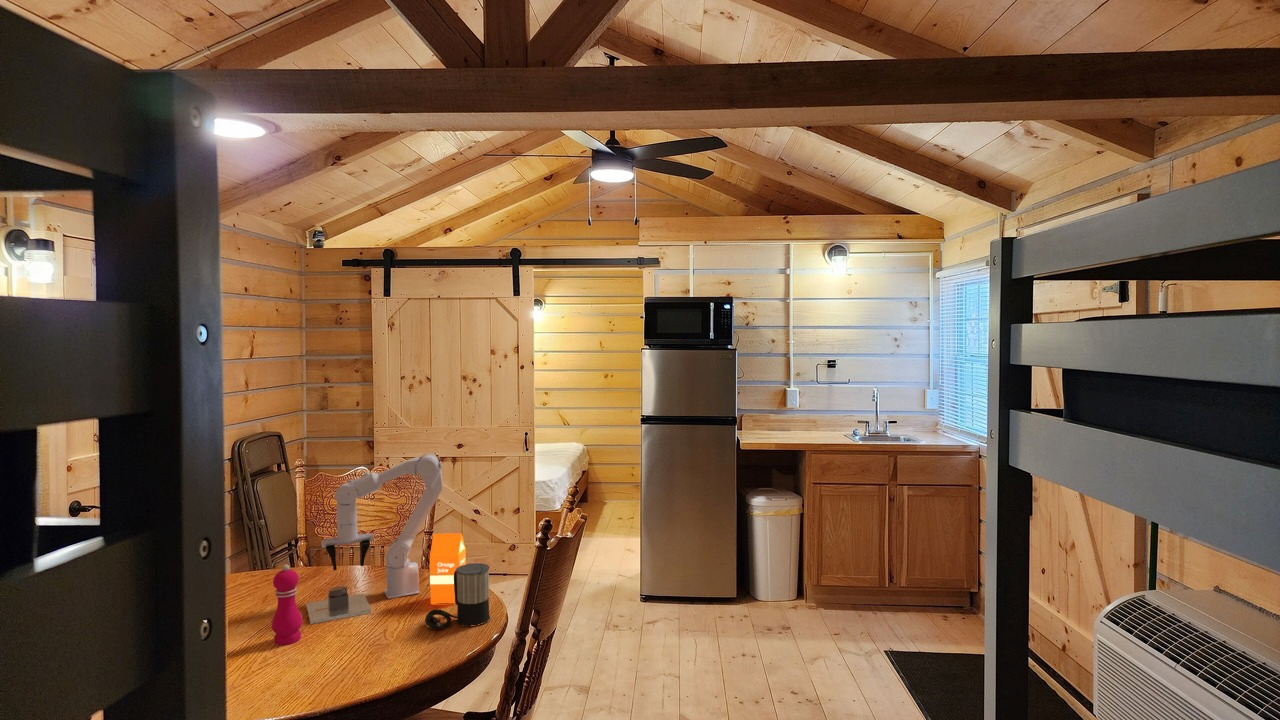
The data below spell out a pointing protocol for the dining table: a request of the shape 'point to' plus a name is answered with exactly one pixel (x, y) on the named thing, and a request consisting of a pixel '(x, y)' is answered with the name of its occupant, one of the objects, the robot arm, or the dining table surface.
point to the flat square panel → (322, 613)
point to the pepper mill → (286, 608)
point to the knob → (338, 598)
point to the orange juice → (445, 566)
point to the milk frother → (467, 597)
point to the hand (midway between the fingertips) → (348, 567)
